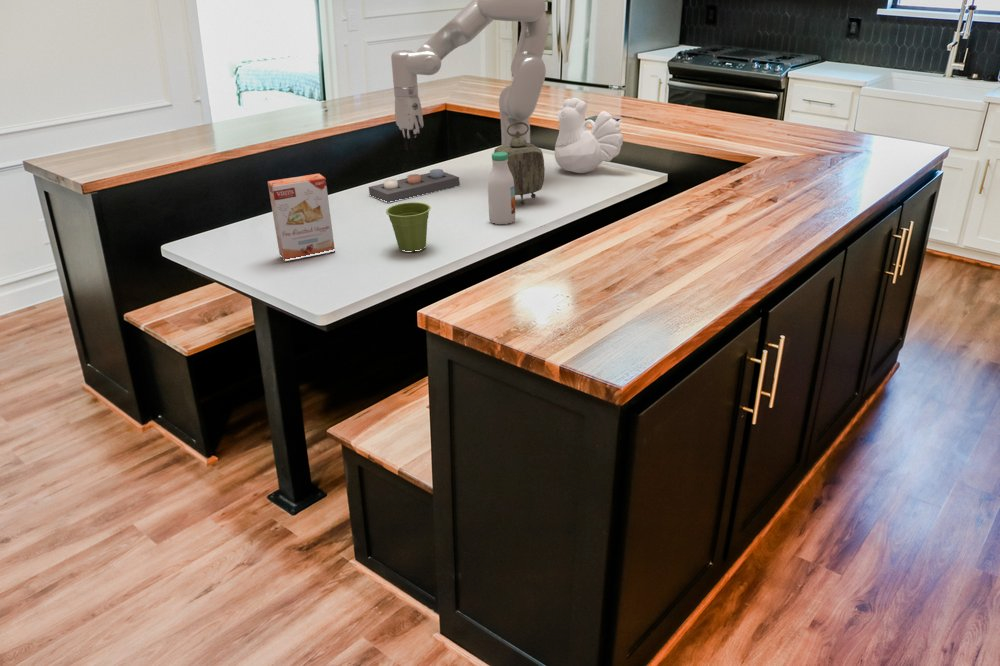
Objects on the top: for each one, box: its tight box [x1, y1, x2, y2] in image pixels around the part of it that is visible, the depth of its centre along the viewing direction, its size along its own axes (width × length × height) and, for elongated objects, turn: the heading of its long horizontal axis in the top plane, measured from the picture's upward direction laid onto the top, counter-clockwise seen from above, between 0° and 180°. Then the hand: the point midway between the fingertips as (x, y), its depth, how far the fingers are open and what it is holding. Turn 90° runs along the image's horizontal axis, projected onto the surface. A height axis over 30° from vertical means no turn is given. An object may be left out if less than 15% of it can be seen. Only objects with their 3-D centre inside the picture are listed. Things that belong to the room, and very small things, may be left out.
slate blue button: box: [429, 168, 444, 179], centre depth 267 cm, size 4×4×3 cm
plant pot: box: [385, 201, 432, 252], centre depth 211 cm, size 12×12×11 cm
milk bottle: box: [487, 152, 516, 225], centre depth 227 cm, size 8×8×20 cm
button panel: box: [368, 171, 461, 202], centre depth 263 cm, size 12×28×3 cm, turn 128°
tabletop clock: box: [493, 122, 546, 206], centre depth 241 cm, size 14×9×25 cm, turn 108°
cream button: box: [383, 179, 398, 190], centre depth 258 cm, size 4×4×3 cm
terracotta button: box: [406, 173, 422, 185], centre depth 262 cm, size 4×4×3 cm
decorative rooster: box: [554, 97, 624, 174], centre depth 270 cm, size 25×16×25 cm, turn 43°
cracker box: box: [267, 173, 336, 261], centre depth 208 cm, size 14×6×21 cm, turn 117°
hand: (410, 149), depth 258 cm, fingers closed
